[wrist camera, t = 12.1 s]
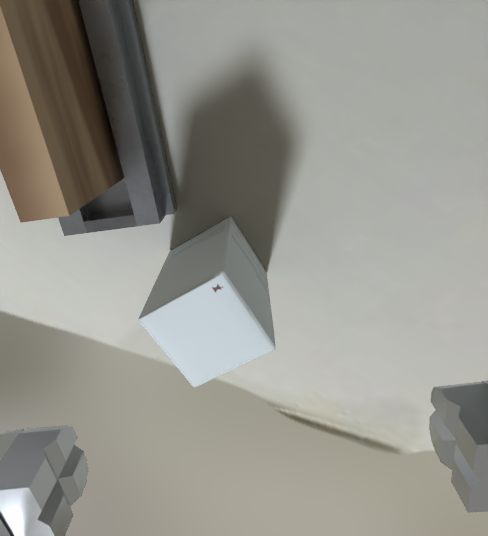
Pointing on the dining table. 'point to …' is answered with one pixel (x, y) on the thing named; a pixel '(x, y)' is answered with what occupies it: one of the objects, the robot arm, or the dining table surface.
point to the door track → (125, 125)
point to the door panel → (52, 111)
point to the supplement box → (211, 305)
